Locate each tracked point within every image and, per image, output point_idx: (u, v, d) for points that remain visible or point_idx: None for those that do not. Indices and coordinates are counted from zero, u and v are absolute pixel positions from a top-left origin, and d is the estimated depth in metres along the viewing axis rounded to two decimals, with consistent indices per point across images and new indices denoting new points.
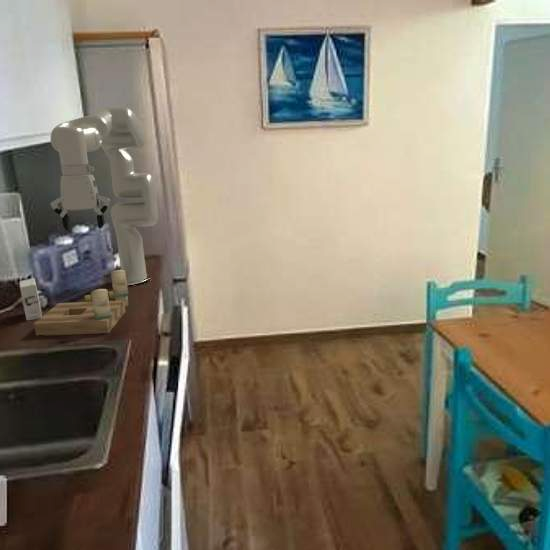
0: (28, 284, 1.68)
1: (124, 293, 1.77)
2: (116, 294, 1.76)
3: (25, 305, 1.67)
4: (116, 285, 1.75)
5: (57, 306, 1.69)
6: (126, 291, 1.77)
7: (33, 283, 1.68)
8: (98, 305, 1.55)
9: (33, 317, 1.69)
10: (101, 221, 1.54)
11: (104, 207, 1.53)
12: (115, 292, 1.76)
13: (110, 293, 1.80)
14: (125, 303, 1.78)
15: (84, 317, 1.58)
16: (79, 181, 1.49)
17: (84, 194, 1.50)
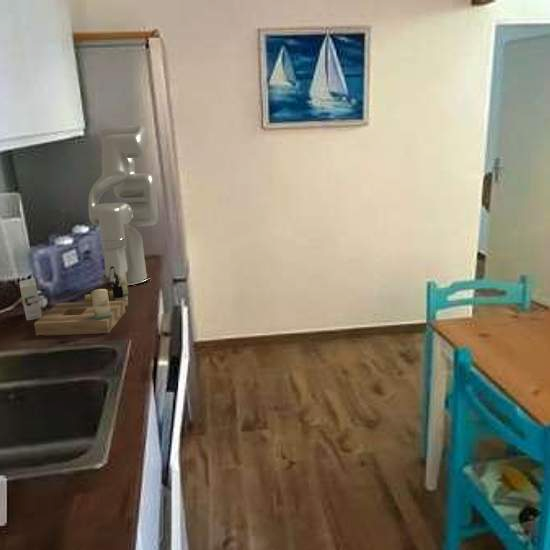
0: (28, 284, 1.68)
1: (124, 293, 1.77)
2: None
3: (25, 305, 1.67)
4: None
5: (57, 306, 1.69)
6: (126, 291, 1.77)
7: (33, 283, 1.68)
8: (98, 305, 1.55)
9: (33, 317, 1.69)
10: None
11: None
12: None
13: (110, 293, 1.81)
14: (125, 303, 1.78)
15: (84, 317, 1.58)
16: (123, 250, 1.75)
17: (125, 260, 1.77)
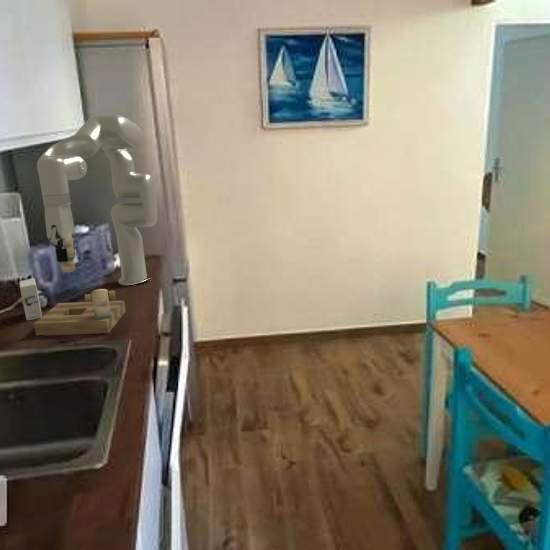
0: (28, 284, 1.68)
1: (69, 256, 1.56)
2: None
3: (25, 305, 1.67)
4: None
5: (57, 306, 1.69)
6: (72, 254, 1.57)
7: (33, 283, 1.68)
8: (98, 305, 1.55)
9: (33, 317, 1.69)
10: None
11: (72, 236, 1.61)
12: None
13: (110, 292, 1.81)
14: (71, 268, 1.58)
15: (84, 317, 1.58)
16: (68, 208, 1.55)
17: (71, 220, 1.57)
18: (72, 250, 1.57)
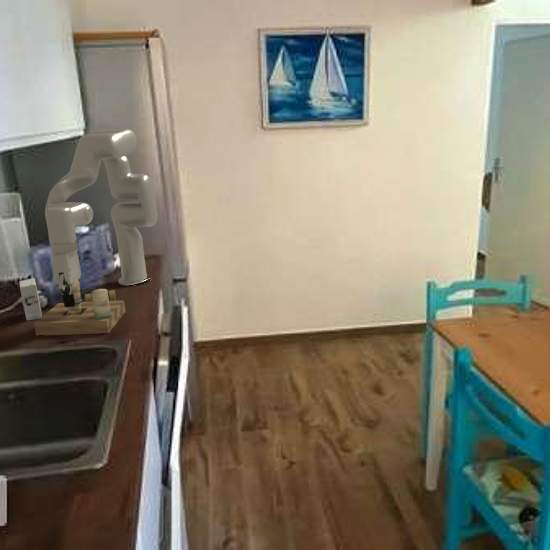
0: (28, 284, 1.68)
1: (76, 301, 1.60)
2: None
3: (25, 305, 1.67)
4: None
5: (57, 306, 1.69)
6: (79, 299, 1.61)
7: (33, 283, 1.68)
8: (98, 305, 1.55)
9: (33, 317, 1.69)
10: None
11: (79, 280, 1.65)
12: None
13: (110, 292, 1.81)
14: (78, 312, 1.62)
15: (84, 317, 1.58)
16: (75, 254, 1.59)
17: (77, 265, 1.61)
18: (79, 295, 1.61)
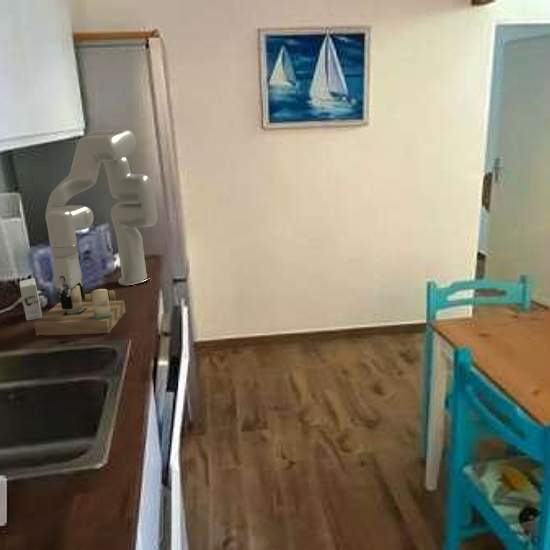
0: (28, 284, 1.68)
1: (78, 311, 1.61)
2: (69, 312, 1.61)
3: (25, 305, 1.67)
4: None
5: (57, 306, 1.69)
6: (81, 308, 1.62)
7: (33, 283, 1.68)
8: (98, 305, 1.55)
9: (33, 317, 1.69)
10: None
11: None
12: (68, 310, 1.61)
13: (110, 292, 1.81)
14: None
15: (84, 317, 1.58)
16: (76, 258, 1.59)
17: (78, 269, 1.61)
18: (81, 304, 1.62)
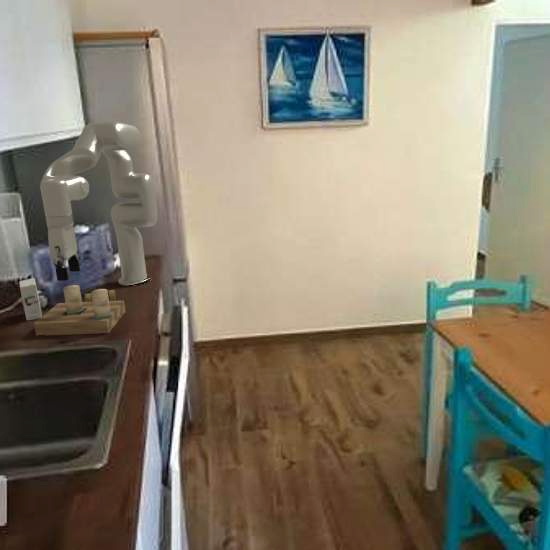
0: (28, 284, 1.68)
1: (78, 310, 1.61)
2: (69, 312, 1.61)
3: (25, 305, 1.67)
4: (69, 302, 1.60)
5: (57, 306, 1.69)
6: (80, 308, 1.62)
7: (33, 283, 1.68)
8: (98, 305, 1.55)
9: (33, 317, 1.69)
10: None
11: (77, 250, 1.65)
12: (68, 309, 1.61)
13: (110, 292, 1.81)
14: None
15: (84, 317, 1.58)
16: (71, 228, 1.57)
17: (74, 240, 1.59)
18: (80, 304, 1.62)
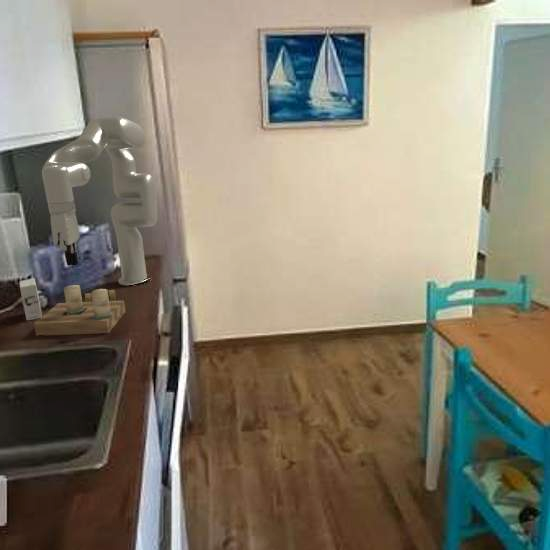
0: (28, 284, 1.68)
1: (78, 310, 1.62)
2: (69, 312, 1.61)
3: (25, 305, 1.67)
4: (69, 302, 1.60)
5: (57, 306, 1.69)
6: (81, 308, 1.62)
7: (33, 283, 1.68)
8: (98, 305, 1.55)
9: (33, 317, 1.69)
10: None
11: None
12: (68, 309, 1.61)
13: (110, 292, 1.82)
14: None
15: (84, 317, 1.58)
16: (73, 214, 1.59)
17: (76, 226, 1.61)
18: (81, 304, 1.62)
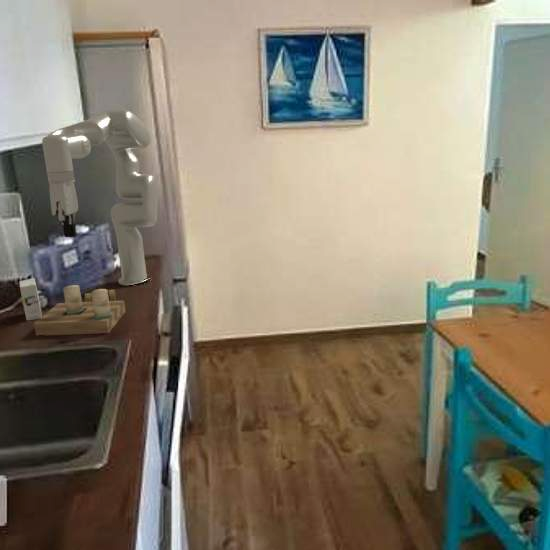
0: (28, 284, 1.68)
1: (78, 311, 1.61)
2: (69, 312, 1.61)
3: (25, 305, 1.67)
4: (69, 302, 1.60)
5: (57, 306, 1.69)
6: (81, 308, 1.62)
7: (33, 283, 1.68)
8: (98, 305, 1.55)
9: (33, 317, 1.69)
10: None
11: (73, 215, 1.63)
12: (68, 310, 1.61)
13: (110, 291, 1.82)
14: None
15: (84, 317, 1.58)
16: (72, 186, 1.59)
17: (75, 197, 1.61)
18: (80, 304, 1.62)
